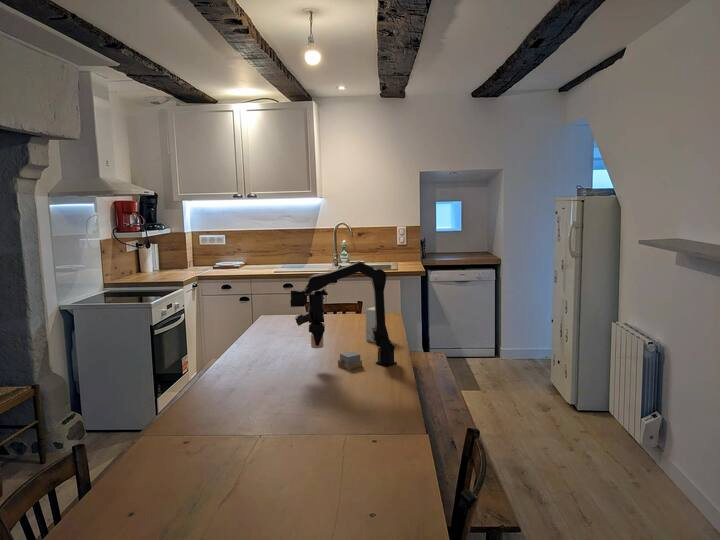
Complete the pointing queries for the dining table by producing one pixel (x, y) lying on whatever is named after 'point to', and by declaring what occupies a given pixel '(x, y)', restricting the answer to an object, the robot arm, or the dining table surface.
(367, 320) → the skincare box
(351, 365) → the walnut block
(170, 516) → the dining table surface
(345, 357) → the grey block
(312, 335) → the terracotta cylinder
